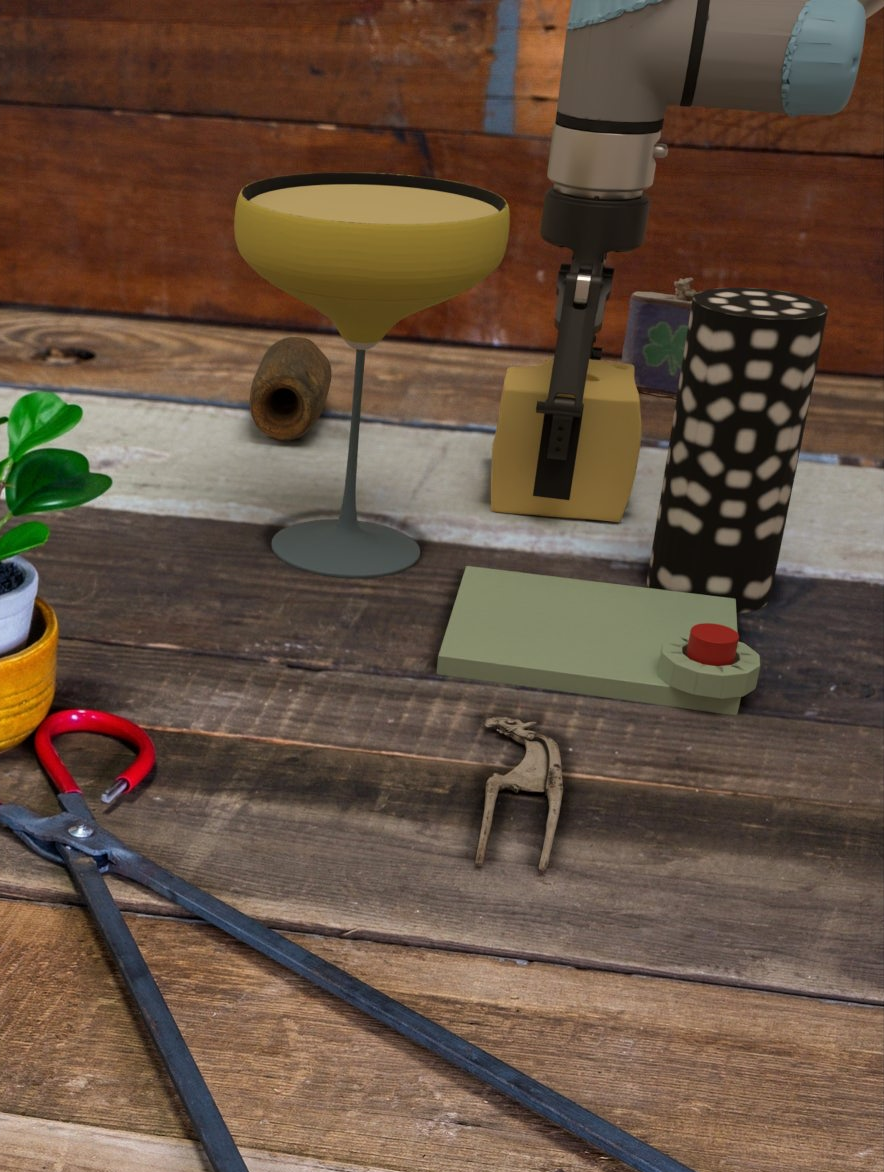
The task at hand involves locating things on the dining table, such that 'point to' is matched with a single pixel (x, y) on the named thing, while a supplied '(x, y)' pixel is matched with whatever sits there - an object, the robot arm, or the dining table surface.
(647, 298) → the flask
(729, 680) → the scale
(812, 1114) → the dining table surface
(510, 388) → the cheese
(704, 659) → the button
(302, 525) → the cocktail glass
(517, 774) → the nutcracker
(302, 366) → the brown hollow cylinder
